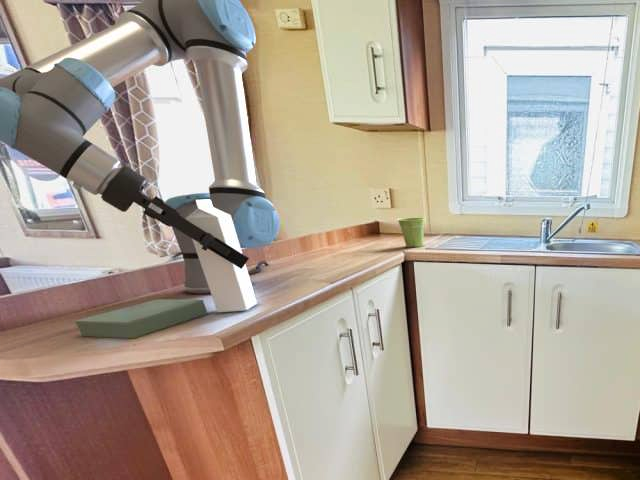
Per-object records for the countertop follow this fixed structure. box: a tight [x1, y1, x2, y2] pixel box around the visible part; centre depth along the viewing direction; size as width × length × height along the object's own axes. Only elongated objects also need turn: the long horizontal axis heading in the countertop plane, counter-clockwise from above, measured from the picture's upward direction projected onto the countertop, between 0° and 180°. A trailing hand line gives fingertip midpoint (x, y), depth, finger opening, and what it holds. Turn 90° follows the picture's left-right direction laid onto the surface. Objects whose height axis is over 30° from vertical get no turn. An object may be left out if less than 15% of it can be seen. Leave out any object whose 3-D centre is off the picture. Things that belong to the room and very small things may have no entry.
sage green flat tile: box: [74, 298, 208, 339], centre depth 84 cm, size 16×12×3 cm
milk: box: [185, 199, 258, 313], centre depth 88 cm, size 6×6×22 cm
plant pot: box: [396, 217, 427, 248], centre depth 180 cm, size 12×12×11 cm
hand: (241, 261), depth 91 cm, fingers closed on milk, 8 cm apart
